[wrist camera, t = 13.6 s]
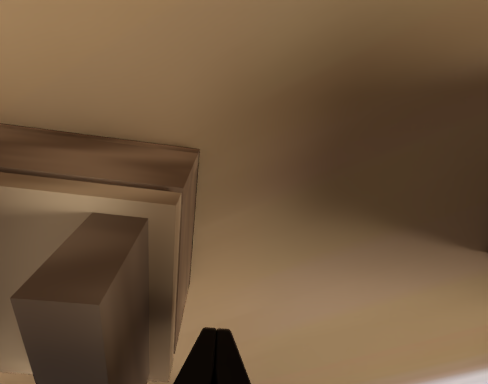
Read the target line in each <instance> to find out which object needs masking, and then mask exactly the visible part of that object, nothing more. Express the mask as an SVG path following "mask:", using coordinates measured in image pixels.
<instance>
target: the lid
mask: <svg viewBox="0 0 488 384" xmlns="http://www.w3.org/2000/svg"><path fill="white" fill-rule="evenodd" d="M180 213H181V193H178V192H169V191H160V190H152V189H143V188H134V187H125V186H117V185H108V184H99V183H91V182H82V181H73V180H65V179H56V178H47V177H39V176H30V175H21V174H13V173H4V172H0V372H3V373H21V374H33V376H34V379H35V383H36V384H147V381H163V382H169V379H170V374H171V369H172V365H173V353H174V333H175V313H176V293H177V273H178V253H179V233H180Z"/></svg>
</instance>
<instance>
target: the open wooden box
mask: <svg viewBox="0 0 488 384" xmlns="http://www.w3.org/2000/svg"><path fill="white" fill-rule="evenodd" d="M199 153H200V149H193V148H185V147H177V146H169V145H162V144H154V143H146V142H138V141H131V140H123V139H115V138H107V137H100V136H92V135H84V134H77V133H69V132H61V131H53V130H46V129H38V128H30V127H22V126H15V125H7V124H0V172H4V173H13V174H21V175H30V176H39V177H47V178H56V179H65V180H73V181H82V182H91V183H99V184H108V185H117V186H125V187H134V188H143V189H152V190H160V191H169V192H178V193H181V213H180V233H179V253H178V273H177V293H176V313H175V333H174V353H173V354H175V350H176V346H177V341H178V336H179V331H180V326H181V322H182V317H183V312H184V307H185V303H186V298H187V293H188V288H189V284H190V271H191V258H192V245H193V232H194V219H195V205H196V192H197V179H198V166H199Z"/></svg>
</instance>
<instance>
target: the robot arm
mask: <svg viewBox="0 0 488 384" xmlns="http://www.w3.org/2000/svg"><path fill="white" fill-rule="evenodd" d="M174 384H251V383H250V380H249V377H248V375H247V372H246V370H245V367H244V364H243V362H242V359H241V356H240V354H239V351H238V349H237V346H236V343H235V341H234V338H233V335H232V333H231V331H230V330H229V329H221V328H219V329H217V331H216V329H215V328H208V327H205V328H203V329H202V331H201V333H200V335H199V337H198V338H197V340H196V342H195V344H194V346H193V348H192V350H191V352H190V353H189V355H188V357H187V359H186V361H185V363H184V365H183V367H182V369H181V370H180V372H179V374H178V376H177V378H176V380H175V382H174Z"/></svg>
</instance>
